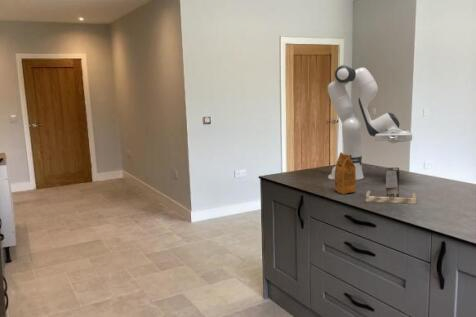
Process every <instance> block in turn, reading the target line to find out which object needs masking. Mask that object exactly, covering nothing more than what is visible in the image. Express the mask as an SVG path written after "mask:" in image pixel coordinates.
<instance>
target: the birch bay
mask: <svg viewBox="0 0 476 317" xmlns="http://www.w3.org/2000/svg"><path fill="white" fill-rule="evenodd" d="M371 194H372V193H371V190H367V192H366V195H365V202H367V203H368V202H369V203H384V204H385V203H386V204H387V203H389V204H409V205H412V204H413V205H417V192H412V197H399V198H398V197H386V196H373V195H372V196H371Z"/></svg>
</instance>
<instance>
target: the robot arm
mask: <svg viewBox="0 0 476 317" xmlns="http://www.w3.org/2000/svg"><path fill="white" fill-rule="evenodd" d="M350 82H352V83H353V84H354V85H355V87H356V88H357V90H358V92H359V97H358V99H357V100H358V106H359V109H360V111H361V114H362V118H363V120H364V122H365V127H366V131H367V133H368V134H369V135H370V137H374V139H375V141H379V142H382V141H383V142H384V141H387V142H388V143H390V144H398V143H403V142H409V141H413V133H412V132H411V131H410V130H409V129H401V128H400V125H401V124H400V122H399V119H398V118H397V116H396V115H395V114H394V113H392V112H389V111H387V112H386V113H384V114H382V115H380V116H378V117H377V118H374V119H372V118H371V115H370V112H369V108H368V106H369V104H370V103H371V101H372V100H373V99H374V98H375V97H376V95H377V94H378V91H379V87H378V84H377V81H376V80H375V78H374V76H373V75H372V74H371V73H370V71H369V70H368V69H367V68H366V67H359V68H357V69H354V68H352V67H351V66H349V65H347V64H342V65H340V66H338V67H336V69H335V71H334V80H333V81H331V82H330V83H329V84H328V85H327V93H328V95H329V99H330V101H331V104H332V106H333V108H334V110H335V113H336V115H337V116H338V118H339V120H340V122H341V124H342V125H341V129H342V130H341V131H342V135H341V136H342V145H343V146H342V147H343V148H342V150H343V151H342V153H343V154H345V155H351V156H352V157H351V160H352V162H353V164H354V165H355V168H356V171H355V173H356V178H355V179H356V181H358V180H362V179H364V178H365V176H364V172H363V167H362V166H363V156H362V137H361V136H362V135H361V134H362V133H361V130H362V129H361V128H362V121H361V118H360V116H359V114H358V112H357V111H356V109H355V107H354V105H353V102H352V100H351V98H350V95H349V93H348V91H347V88H346V85H347V84H349V83H350ZM335 168H336V165H334V166H333V167H332V169H331V173H330V174H328V176H327V179H329V180H334V181H335V179H334V177H335Z"/></svg>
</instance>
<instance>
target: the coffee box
mask: <svg viewBox="0 0 476 317" xmlns="http://www.w3.org/2000/svg"><path fill="white" fill-rule="evenodd" d="M385 197H398V198H400V167H386V168H385Z"/></svg>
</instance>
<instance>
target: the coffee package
mask: <svg viewBox="0 0 476 317" xmlns="http://www.w3.org/2000/svg"><path fill="white" fill-rule="evenodd" d="M351 157H352V156H351V155H345V154H343V151H341V152H339V155H338V158H337V160H336V165H335V166H336V168H335V177H334V179H335V180H334V179H333V180H334V191H336V192H337V193H338V194H342V195H345V194H348V193H354V192H356V188H357V180H356V179H355V178H356V173H355V171H356V168H355V165H354V164H353V162H352V160H351Z"/></svg>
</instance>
